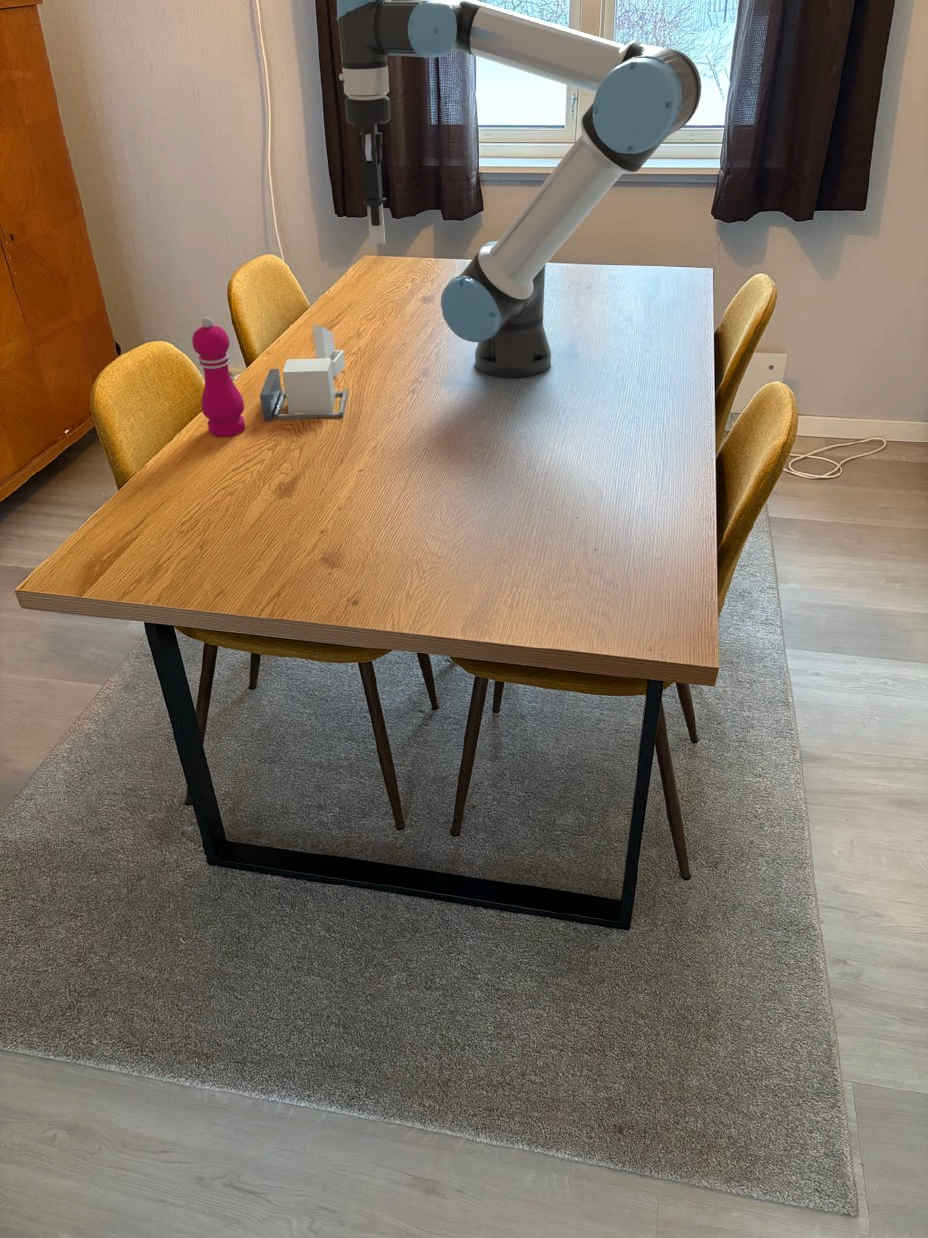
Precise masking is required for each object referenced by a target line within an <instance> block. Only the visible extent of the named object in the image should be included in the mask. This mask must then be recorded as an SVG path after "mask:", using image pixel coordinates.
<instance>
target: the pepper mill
mask: <svg viewBox="0 0 928 1238" xmlns="http://www.w3.org/2000/svg"><path fill="white" fill-rule="evenodd" d="M201 325H202V326H201V327H199V328H198V329H196V330H195V331H194V332H193V333H192V334H193V336H192V338H191V340H192V341H191V343H192V347H193V349H194V352H196V353H197V354H198V355H199V356H198V359H197V360H198V361H199V366H200V367H201V368H202V369H203V373H204V374H203V375H204V386H203V392H202V395H201V412H202V414H203V416H204V417H206V419H208V421H207V426H208V432H209V434H210V435H212V436H214V437H218V438H229V437H235V436H237V435H239V434H241V433H242V432H244V431H245V429H246V424H245V419H244V417H243V415H242V414H243V412H244V410H245V402H244V400H243V396H242V395H241V393H240V391H239V390H238V388H237V386H236V384H235V383H234V382H233V379H232V377H231V374H230V371H229V364H230V362H231V360H230V358H229V357H230V354H229V353H228V352H227V351H228V350H229V347H230V337H229V335H228V333H227V331H226V330H224V328H223V327H220V326H218V325H214V322H213V319H212V317H211V318H210V317H209V316H205V317H203V318H202V320H201Z"/></svg>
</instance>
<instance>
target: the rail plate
mask: <svg viewBox="0 0 928 1238" xmlns="http://www.w3.org/2000/svg"><path fill="white" fill-rule="evenodd" d="M281 383H282V382H281V376H280V369H279V368H270V369H269V371H268V373H267V375H266V378H265V380H264V383H263V386H262V388H261V391H260V394H259V398H260V406H261V410H262V418H263V419H262V420H263V422H274V419H275V420H284V419H285V420H286V419H290V420H291V419H318V417H320V418H319V419H322V418H321V417H331V418H344V414H345V410H346V409H345V408H346V405H347V399H348V397H349V396H348V395H349V393H348V389H347V388H344V389H343V390H342V391H341V390H337V391H335V397H340V396H341V397H342V398H341V402H340V407H339V409H338V411H339V412H333V413H308V414H289V413H287V414H286V413H282V410H283V407H284V405H285V401H286V394H285V390H283V389H282V384H281Z"/></svg>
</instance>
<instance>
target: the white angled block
mask: <svg viewBox="0 0 928 1238" xmlns="http://www.w3.org/2000/svg"><path fill="white" fill-rule="evenodd" d="M312 331H313V332H312V333H313V340H314V349H315V356H316V358H315V359H319V358H331V363H332V372H333V378H337V377H338V376H339V375H340V373H341V372H342V371H343V369H344V368H345V367H346V362H345V353H344V351H345V350H337V349H336V348H335V339H334V338H335V337H334V332H332V331H331V330H329V329H328V328H326V327H324V326H322V325H312Z"/></svg>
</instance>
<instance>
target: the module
mask: <svg viewBox="0 0 928 1238" xmlns="http://www.w3.org/2000/svg"><path fill="white" fill-rule="evenodd" d="M282 378H283V386H284V391H285V394H286V398H285V400H286V404H287V414H295V413H308V414H312V413H334V409H335V403H336V396H335V390H336V389H335V384H334V382H335V381H334V377H333V372H332V363H331V358H319V359H317V358H296V359H295V358H294V359H293V358H290V359H286V361H285V363H284V367H283V370H282Z"/></svg>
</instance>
